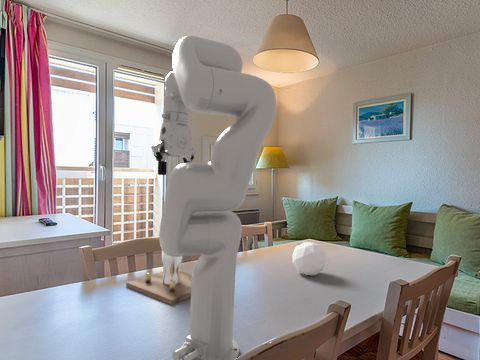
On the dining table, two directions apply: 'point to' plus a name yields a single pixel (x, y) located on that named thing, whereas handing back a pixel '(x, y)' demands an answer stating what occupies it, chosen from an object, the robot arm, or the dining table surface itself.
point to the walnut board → (163, 287)
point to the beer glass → (171, 269)
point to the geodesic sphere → (308, 258)
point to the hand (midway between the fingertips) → (174, 175)
